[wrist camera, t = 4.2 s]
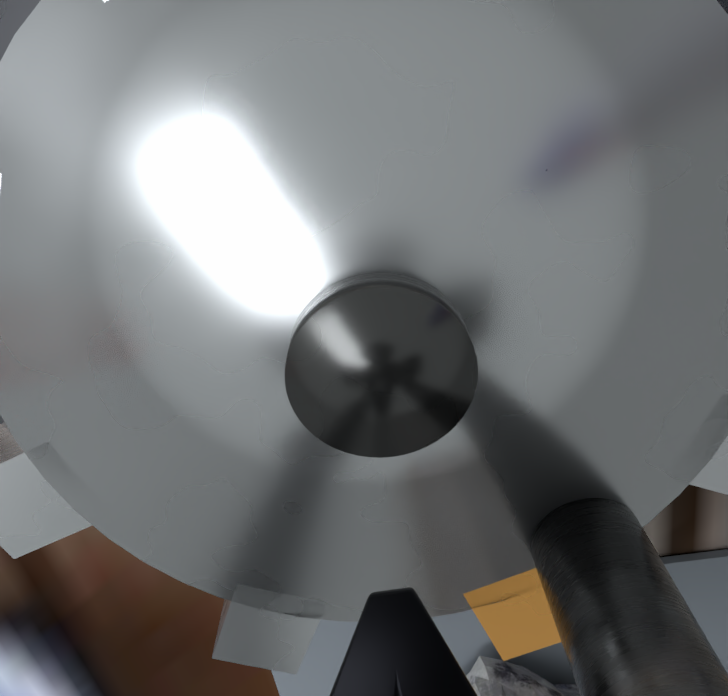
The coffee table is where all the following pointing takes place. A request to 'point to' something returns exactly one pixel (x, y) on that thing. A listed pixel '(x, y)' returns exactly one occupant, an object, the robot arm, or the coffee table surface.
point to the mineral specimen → (512, 680)
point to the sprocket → (360, 255)
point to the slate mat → (469, 641)
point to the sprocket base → (366, 351)
